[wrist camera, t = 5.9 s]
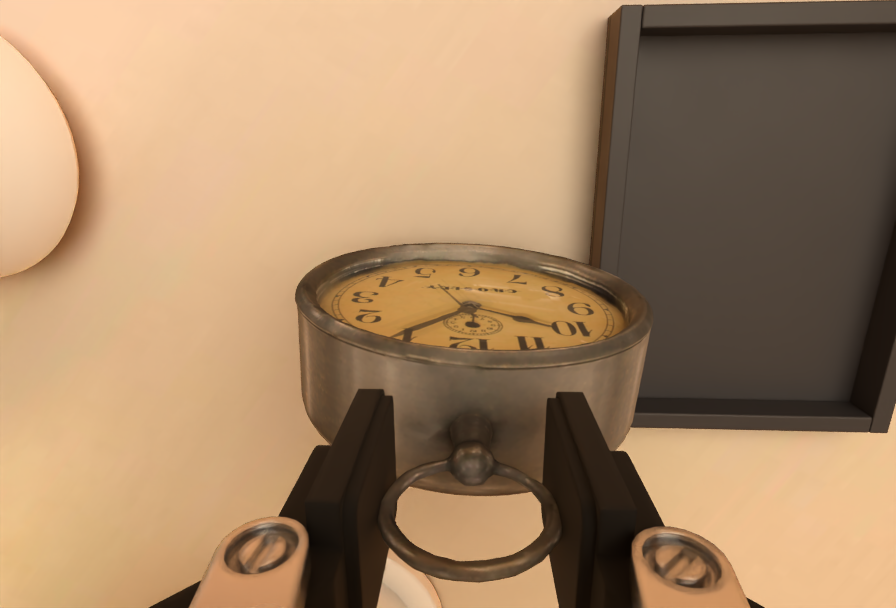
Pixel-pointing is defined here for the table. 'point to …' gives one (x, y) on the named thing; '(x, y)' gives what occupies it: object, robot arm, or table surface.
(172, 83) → the table surface
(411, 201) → the table surface
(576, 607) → the robot arm
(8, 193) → the flower in vase
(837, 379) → the tray
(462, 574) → the alarm clock
